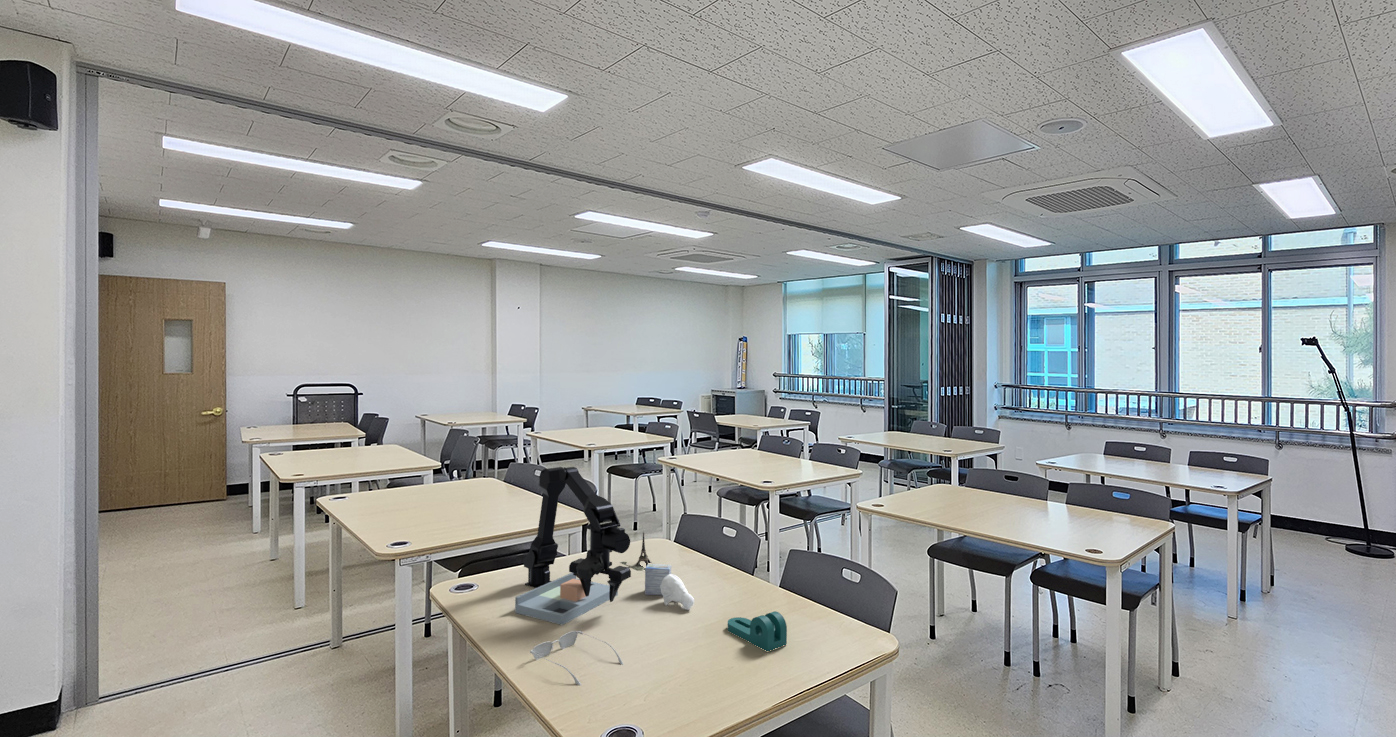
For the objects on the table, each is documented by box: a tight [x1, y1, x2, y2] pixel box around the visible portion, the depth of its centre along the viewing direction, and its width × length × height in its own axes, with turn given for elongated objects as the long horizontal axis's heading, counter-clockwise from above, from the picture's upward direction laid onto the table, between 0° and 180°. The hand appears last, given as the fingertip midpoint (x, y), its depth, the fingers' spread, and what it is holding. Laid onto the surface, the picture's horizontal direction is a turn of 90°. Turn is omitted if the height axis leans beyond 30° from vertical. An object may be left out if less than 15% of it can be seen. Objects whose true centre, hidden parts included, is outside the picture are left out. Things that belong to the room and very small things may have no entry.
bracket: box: [727, 610, 788, 652], centre depth 168 cm, size 18×7×8 cm, turn 37°
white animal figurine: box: [660, 573, 695, 611], centre depth 190 cm, size 6×8×12 cm
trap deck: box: [514, 572, 619, 626], centre depth 190 cm, size 18×26×4 cm, turn 152°
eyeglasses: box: [529, 630, 624, 686], centre depth 152 cm, size 15×18×4 cm
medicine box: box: [644, 563, 672, 596], centre depth 200 cm, size 8×4×9 cm, turn 84°
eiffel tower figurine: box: [619, 531, 652, 572], centre depth 228 cm, size 15×10×13 cm
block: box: [560, 578, 586, 601], centre depth 189 cm, size 6×6×4 cm
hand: (599, 598), depth 185 cm, fingers open, 8 cm apart
